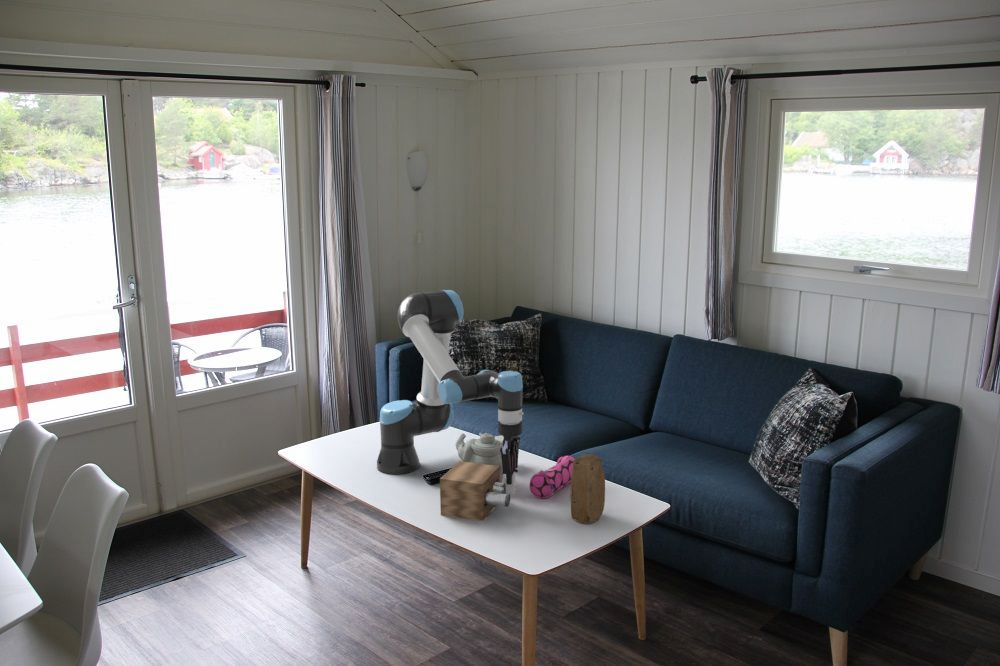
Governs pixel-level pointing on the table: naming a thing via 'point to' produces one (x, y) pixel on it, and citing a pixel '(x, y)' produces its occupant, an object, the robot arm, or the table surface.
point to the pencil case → (552, 478)
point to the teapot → (481, 451)
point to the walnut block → (467, 490)
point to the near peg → (497, 499)
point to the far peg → (499, 488)
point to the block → (587, 489)
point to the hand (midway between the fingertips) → (510, 492)
